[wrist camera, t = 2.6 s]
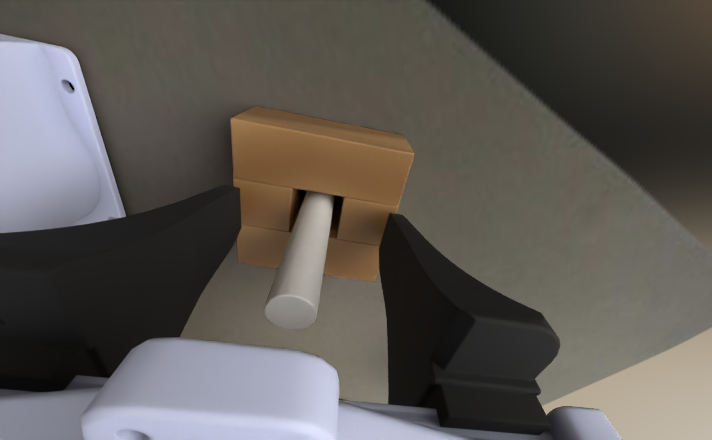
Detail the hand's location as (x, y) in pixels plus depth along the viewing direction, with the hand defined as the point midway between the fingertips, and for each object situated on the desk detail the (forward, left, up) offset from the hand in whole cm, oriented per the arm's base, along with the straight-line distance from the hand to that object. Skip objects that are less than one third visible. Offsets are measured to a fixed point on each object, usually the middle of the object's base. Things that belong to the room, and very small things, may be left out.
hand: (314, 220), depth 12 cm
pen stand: (0, 0, -3) cm, 3 cm away
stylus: (0, 0, -3) cm, 3 cm away
